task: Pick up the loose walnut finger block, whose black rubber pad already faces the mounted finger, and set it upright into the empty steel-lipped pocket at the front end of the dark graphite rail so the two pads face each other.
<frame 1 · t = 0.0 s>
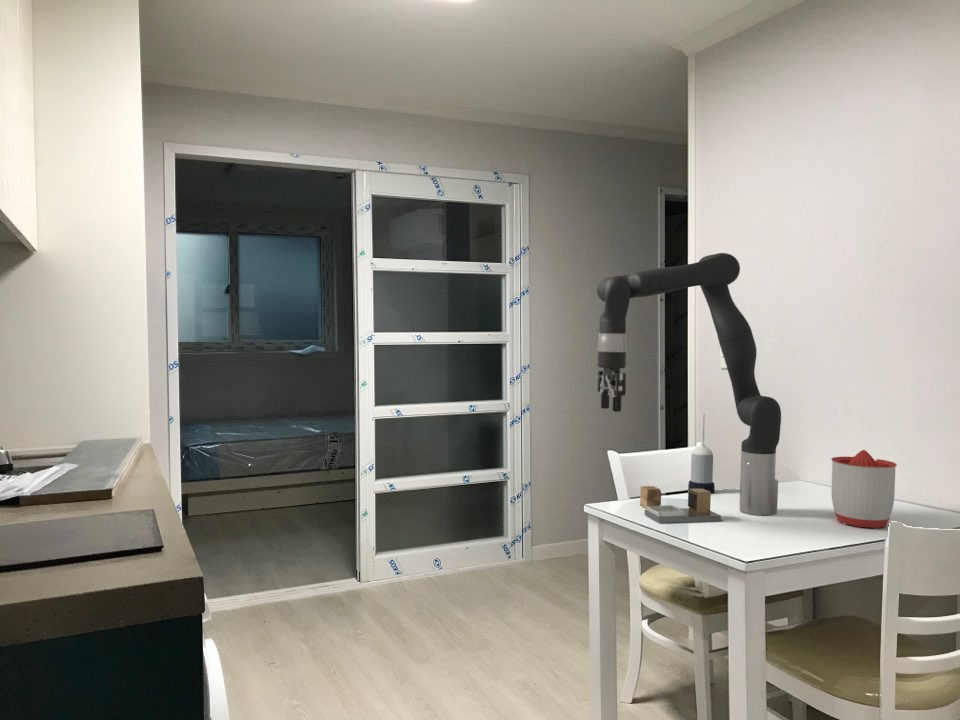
hand: (610, 409, 196), 29 cm above the table, fingers open, 8 cm apart
walnut finger: (649, 508, 208), on the table
rail dock: (682, 518, 197), on the table
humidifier: (701, 491, 233), on the table
citrus juicer: (861, 523, 196), on the table
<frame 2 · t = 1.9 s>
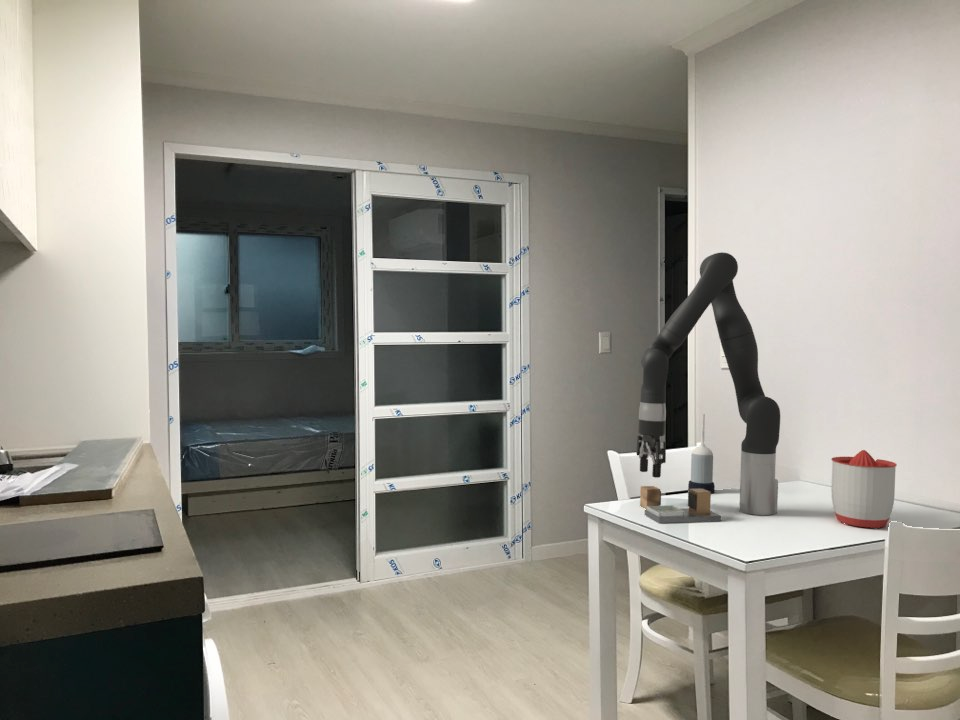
hand: (649, 474, 208), 10 cm above the table, fingers open, 8 cm apart
nothing on the table moved.
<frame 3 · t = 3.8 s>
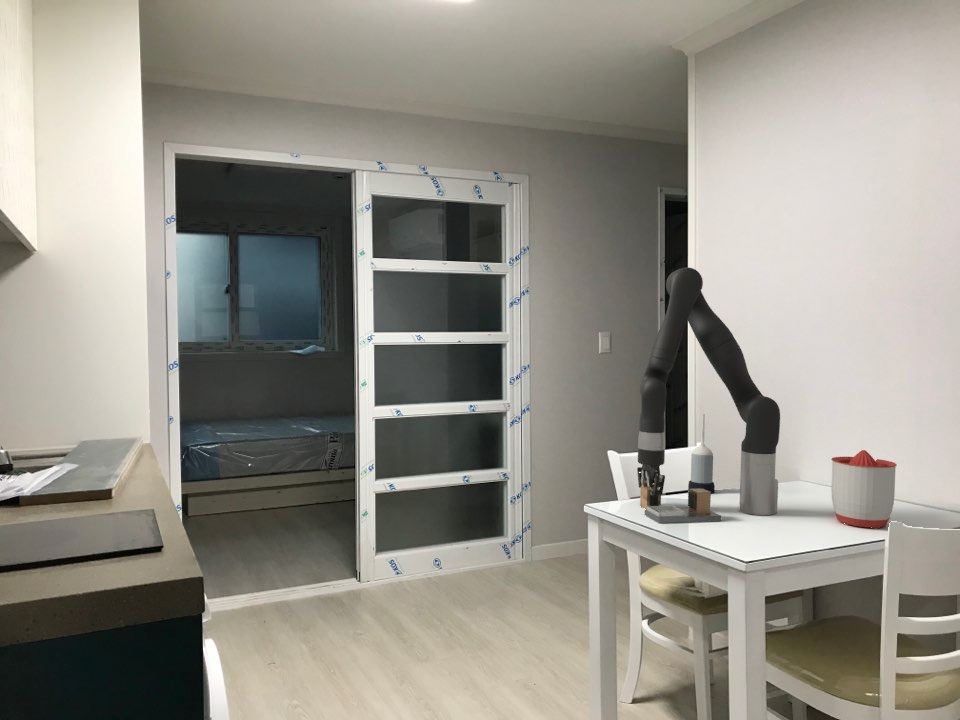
hand: (649, 505, 208), 1 cm above the table, fingers closed on walnut finger, 4 cm apart
walnut finger: (649, 508, 208), on the table, touching gripper
everything else where it was.
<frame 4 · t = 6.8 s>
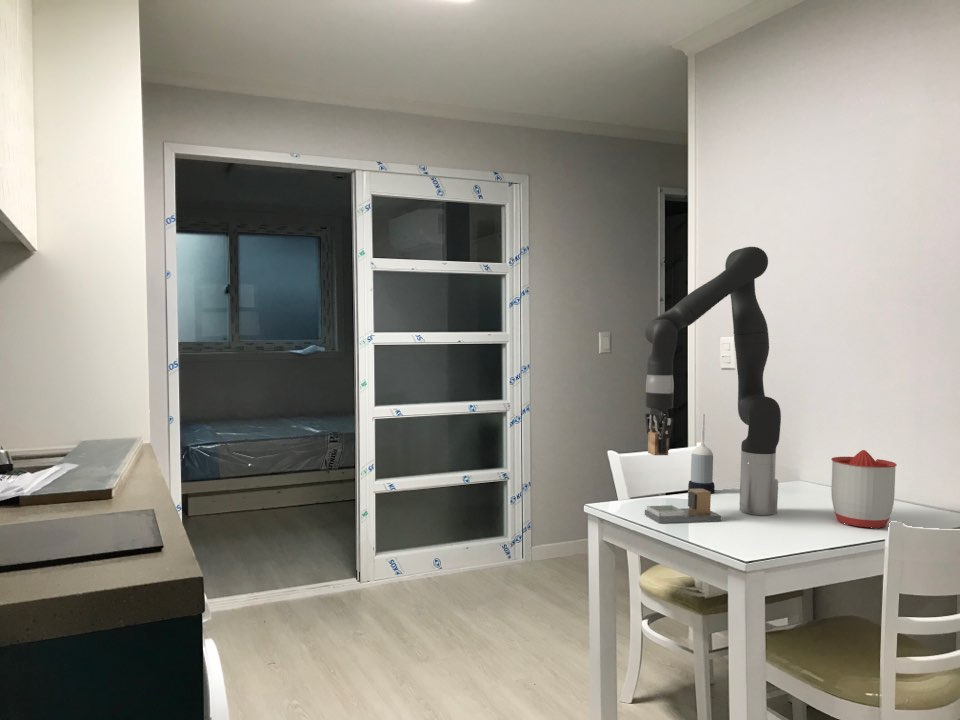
hand: (658, 451, 202), 17 cm above the table, fingers closed on walnut finger, 4 cm apart
walnut finger: (657, 454, 202), point 17 cm above the table, touching gripper
everything else where it was.
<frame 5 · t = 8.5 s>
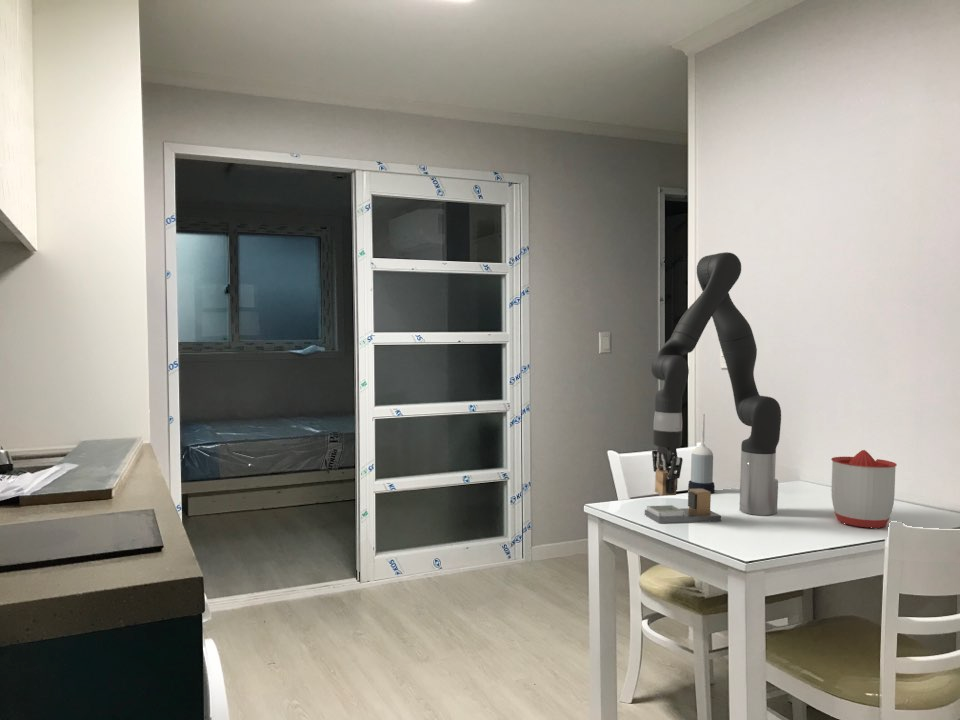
hand: (665, 490, 196), 8 cm above the table, fingers closed on walnut finger, 4 cm apart
walnut finger: (665, 493, 196), point 7 cm above the table, touching gripper
everything else where it was.
when the fingers open (3 cm above the table, at t = 10.0 s): walnut finger stays where it is, resting on rail dock.
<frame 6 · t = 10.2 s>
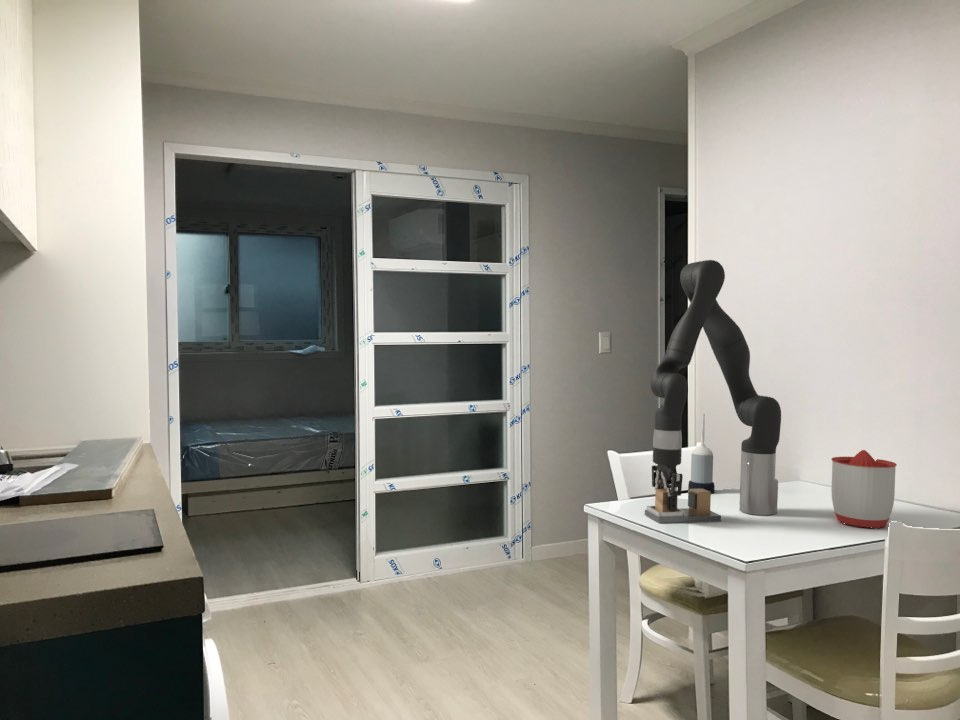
hand: (665, 507, 196), 3 cm above the table, fingers open, 6 cm apart
walnut finger: (665, 512, 196), point 2 cm above the table, touching rail dock
everything else where it was.
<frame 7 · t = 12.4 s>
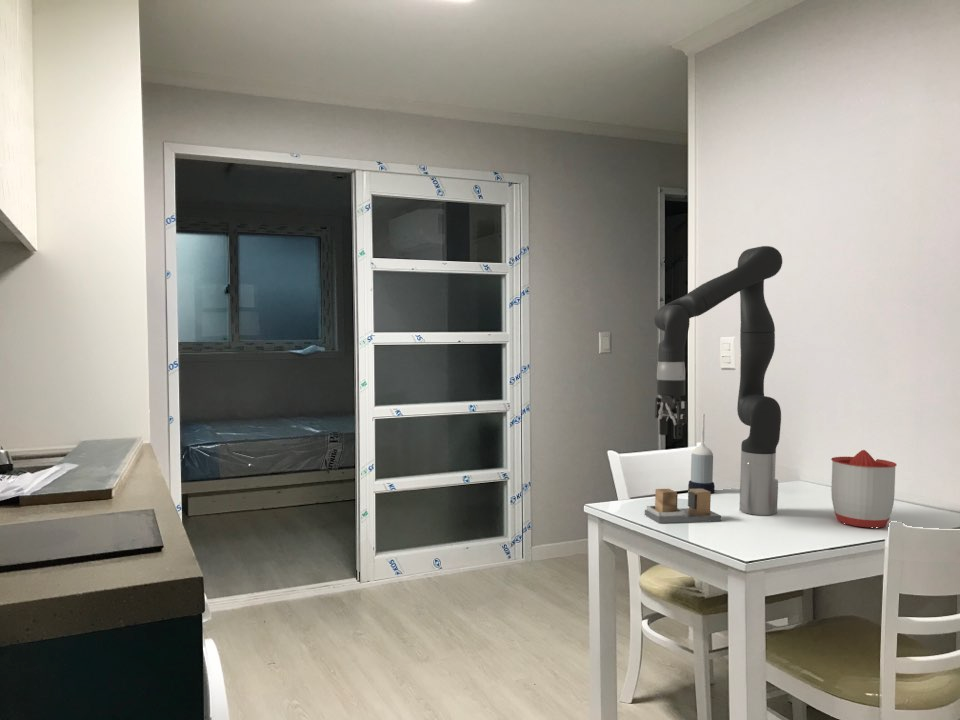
hand: (670, 436, 199), 22 cm above the table, fingers open, 8 cm apart
nothing on the table moved.
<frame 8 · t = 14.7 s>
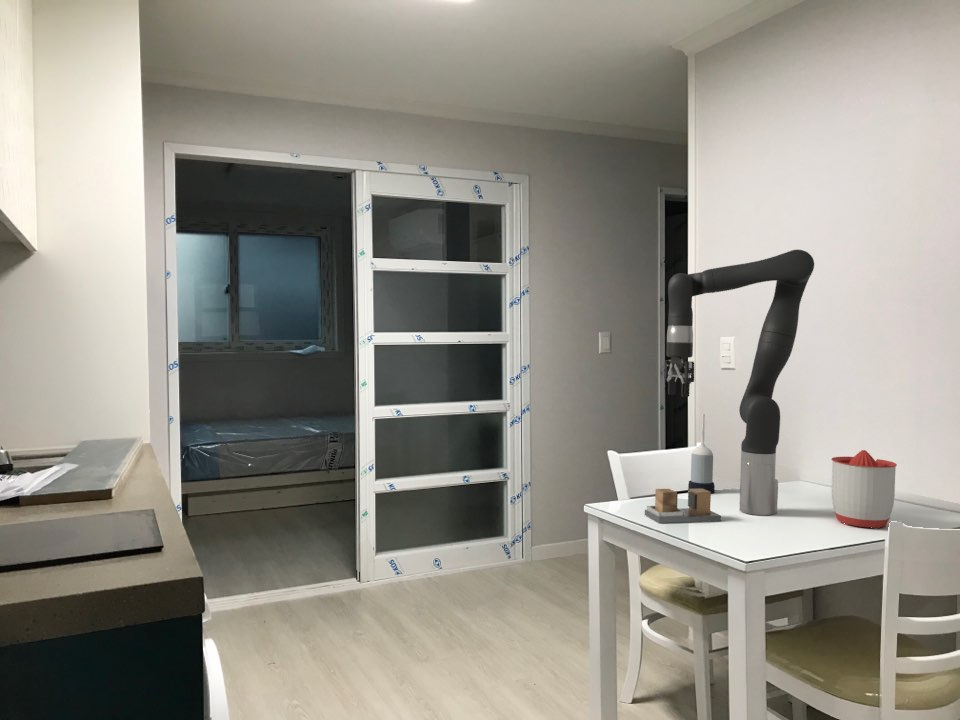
hand: (678, 395, 215), 32 cm above the table, fingers open, 8 cm apart
nothing on the table moved.
at the end: walnut finger 0.0 cm from the target spot on the rail dock, point 1.7 cm above the rail dock's base; walnut finger tilted 0°; the gripper is holding nothing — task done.
